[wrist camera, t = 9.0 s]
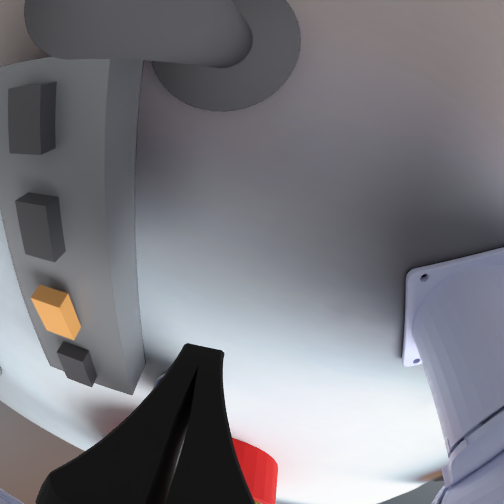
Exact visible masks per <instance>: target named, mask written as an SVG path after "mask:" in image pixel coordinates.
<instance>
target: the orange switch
mask: <svg viewBox="0 0 504 504" xmlns="http://www.w3.org/2000/svg"><path fill="white" fill-rule="evenodd" d="M31 300H32V302H33V304H34V306H35V308H36V310H37V312H38V314H39V316H40V318H41V320H42V322H43V324H44V326H45V328H46V330H48V331H50V332H53V333H55V334H58V335H61V336H63V337H66V338H69V339H72V340H75V338H76V336H77V334H78V332H79V330H80V328H81V325H80V323H79V320H78V318H77V315H76V313H75V310H74V307H73V305H72V302H71V299H70V297H69V294H68V293H65V292H62V291H59V290H55V289H52V288H49V287H46V286H43V285H39V286H38V288H37V289H36V291H35V292H34V294H33V295H32V296H31Z"/></svg>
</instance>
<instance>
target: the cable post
mask: <svg viewBox="0 0 504 504" xmlns="http://www.w3.org/2000/svg"><path fill="white" fill-rule="evenodd" d="M24 15H25V23H26V27H27V31H28V33H29V35H30V37H31V39H32V41H33V42H34V44H35V45H36V46H37V47H38V48H39V49H40V50H42V51H43V52H44V53H46V54H48V55H50V56H52V57H55V58H59V59H67V60H74V59H127V60H147V61H152V65H153V68H154V70H155V73H156V75H157V76H158V78H159V80H160V81H161V83H162V84H163V85H164V87H165V88H166V89H167V90H168V91H169V92H170V93H171V94H172V95H174V96H175V97H176V98H178V99H179V100H181V101H183V102H185V103H186V104H189V105H191V106H194V107H196V108H200V109H204V110H210V111H233V110H238V109H243V108H246V107H249V106H252V105H254V104H256V103H259V102H261V101H262V100H264V99H266V98H267V97H269V96H270V95H272V94H273V93H274V92H275V91H277V90H278V89H279V88H280V87H281V86H282V85H283V83H284V82H285V81H286V80H287V78H288V77H289V76H290V74H291V72H292V70H293V69H294V67H295V64H296V61H297V59H298V55H299V50H300V40H301V39H300V29H299V25H298V21H297V19H296V16H295V14H294V12H293V10H292V8H291V7H290V5H289V4H288V3H287V1H286V0H25V6H24Z"/></svg>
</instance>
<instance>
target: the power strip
mask: <svg viewBox="0 0 504 504" xmlns="http://www.w3.org/2000/svg"><path fill="white" fill-rule="evenodd" d="M143 62H144V60H127V59H74V60H67V59H59V58H55V57H46V58H40V59H34V60H29V61H24V62H19V63H14V64H9V65H5V66H0V209H1V214H2V219H3V224H4V229H5V234H6V238H7V242H8V246H9V250H10V254H11V258H12V262H13V266H14V269H15V273H16V276H17V280H18V283H19V286H20V289H21V292H22V295H23V298H24V301H25V304H26V307H27V310H28V313H29V316H30V318H31V321H32V324H33V326H34V329H35V331H36V334H37V336H38V339H39V341H40V344H41V346H42V348H43V351H44V353H45V355H46V358H47V360H48V362H49V364H50V366H52V367H55V368H57V369H59V370H62V371H64V372H65V374H66V376H67V378H69V379H71V380H74V381H77V382H79V383H82V384H84V385H87V386H90V387H92V386H93V384H94V383H96V384H99V385H102V386H105V387H108V388H111V389H114V390H117V391H120V392H123V393H127V394H130V395H133V393H134V390H135V388H136V385H137V383H138V380H139V378H140V376H141V373H142V371H143V368H144V366H145V357H144V349H143V340H142V331H141V321H140V311H139V299H138V285H137V269H136V246H135V160H136V138H137V122H138V109H139V98H140V88H141V78H142V70H143ZM39 285H43V286H46V287H49V288H52V289H55V290H59V291H62V292H65V293H68V294H69V297H70V299H71V302H72V305H73V307H74V310H75V313H76V315H77V318H78V320H79V323H80V325H81V328H80V330H79V332H78V334H77V336H76V338H75V340H72V339H69V338H66V337H63V336H61V335H58V334H55V333H53V332H50V331H48V330H46V328H45V326H44V324H43V322H42V320H41V318H40V316H39V314H38V312H37V310H36V308H35V306H34V304H33V302H32V300H31V296H32V295H33V294H34V292H35V291H36V289H37V288H38V286H39Z"/></svg>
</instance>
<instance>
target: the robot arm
mask: <svg viewBox="0 0 504 504" xmlns="http://www.w3.org/2000/svg"><path fill="white" fill-rule="evenodd" d="M424 274H426V276H425V277H423V278H421V276H422V275H424ZM223 358H224V352H223V351H222V350H217V349H212V348H207V347H203V346H198V345H193V344H189V343H187V344H185V345H184V346H183V348H182V350H181V352H180V353H179V355H178V357H177V358H176V360H175V361H174V363H173V364H172V366H171V367H170V368H169V370H168V371H167V373H166V374H165V375H164V376H163V378H162V379H161V380H160V382H159V383H158V384H157V385H156V387H155V388H154V389H153V390H152V392H151V393H150V394H149V395H148V396H147V397H146V398H145V399H144V400H143V402H142V403H141V404H140V405H139V406H138V407H137V408H136V409H135V410H134V411H133V412H132V413H131V414H130V415H129V416H128V417H127V418H126V419H125V420H124V421H123V422H122V423H121V424H120V425H119V426H117V427H116V428H115V429H114V430H113V431H111V432H110V433H109V434H108V435H107V436H106V437H104V438H103V439H102V440H100V441H99V442H98V443H97V444H95V445H94V446H92V447H91V448H89V449H88V450H87V451H85V452H84V453H82V454H81V455H79V456H78V457H76V458H75V459H73V460H71V461H70V462H68V463H66V464H64V465H62V466H61V467H59V468H57V469H55V470H54V471H52V472H50V474H49V475H48V476H47V478H46V480H45V481H44V483H43V484H42V486H41V489H40V491H39V494H38V496H37V499H36V504H256V503H255V501H254V499H253V497H252V495H251V492H250V490H249V487H248V485H247V483H246V480H245V477H244V475H243V472H242V470H241V467H240V464H239V461H238V458H237V455H236V451H235V448H234V444H233V441H232V437H231V432H230V428H229V423H228V418H227V413H226V407H225V399H224V390H223ZM402 363H403V366H405V367H410V366H414V365H418V364H423V367H424V370H425V373H426V376H427V379H428V382H429V386H430V389H431V392H432V395H433V399H434V402H435V406H436V409H437V413H438V416H439V420H440V424H441V428H442V432H443V436H444V440H445V444H446V448H447V452H448V457H449V463H448V464H447V465H446V466H445V467H444V468H442V473H443V478H444V484H445V485H444V486H443V487H442V488H441V490H440V491H439V492H438V494H437V495H436V497H435V499H434V501H433V503H432V504H504V247H503V248H499V249H495V250H491V251H487V252H483V253H479V254H475V255H471V256H467V257H463V258H459V259H454V260H450V261H446V262H442V263H437V264H433V265H428V266H424V267H419V268H415V269H412V270H410V271H409V272H408V274H407V276H406V303H405V326H404V341H403V353H402ZM183 441H184V442H183ZM182 444H183V445H182ZM181 447H182V449H181ZM180 450H181V452H180ZM179 453H180V456H179ZM178 456H179V459H178ZM177 460H178V463H177ZM176 463H177V466H176ZM175 468H176V470H175ZM174 472H175V473H174ZM0 504H24V503H23V502H21V501H19V500H18V499H16V498H15V497H13V496H11V495H10V494H8V493H7V492H5V491H4V490H2V489H1V488H0Z"/></svg>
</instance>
